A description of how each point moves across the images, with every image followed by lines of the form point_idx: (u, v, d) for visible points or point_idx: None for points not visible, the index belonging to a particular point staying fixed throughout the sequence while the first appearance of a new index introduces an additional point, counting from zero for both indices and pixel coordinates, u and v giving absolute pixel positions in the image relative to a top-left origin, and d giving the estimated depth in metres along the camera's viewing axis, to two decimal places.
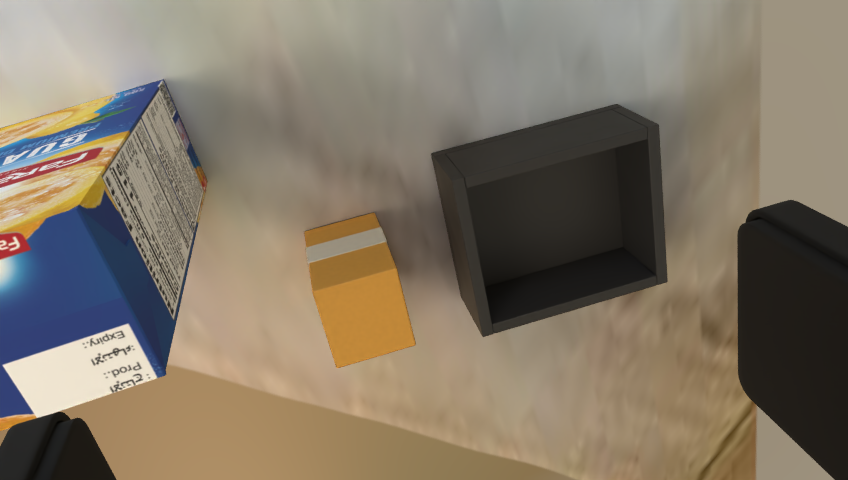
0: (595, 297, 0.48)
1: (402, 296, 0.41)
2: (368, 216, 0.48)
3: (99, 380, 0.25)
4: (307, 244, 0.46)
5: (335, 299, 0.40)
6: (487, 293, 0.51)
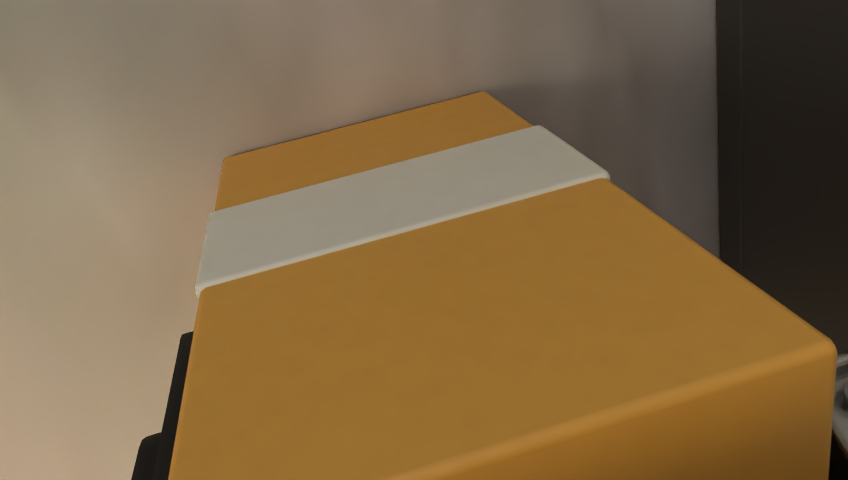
0: None
1: None
2: (470, 101, 0.12)
3: None
4: (220, 201, 0.10)
5: None
6: None
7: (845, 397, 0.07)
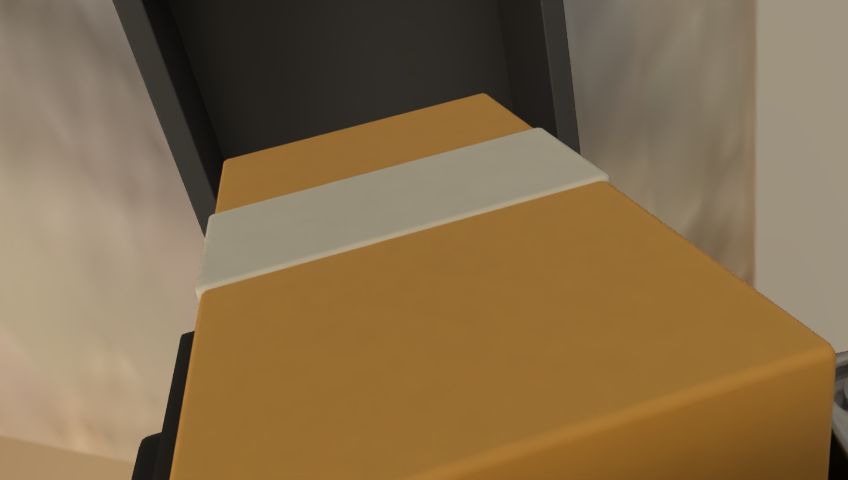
0: None
1: None
2: (469, 103, 0.12)
3: None
4: (221, 203, 0.10)
5: None
6: None
7: (845, 397, 0.07)
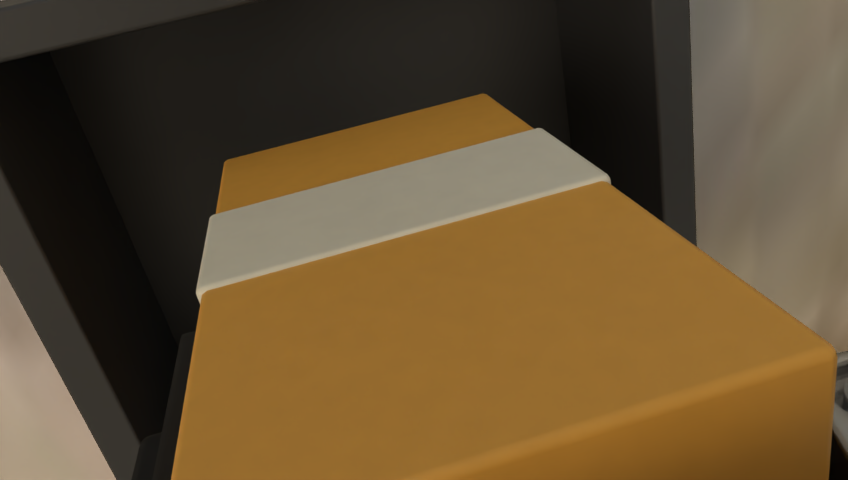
0: None
1: None
2: (470, 104, 0.13)
3: None
4: (221, 203, 0.10)
5: None
6: None
7: (845, 397, 0.07)
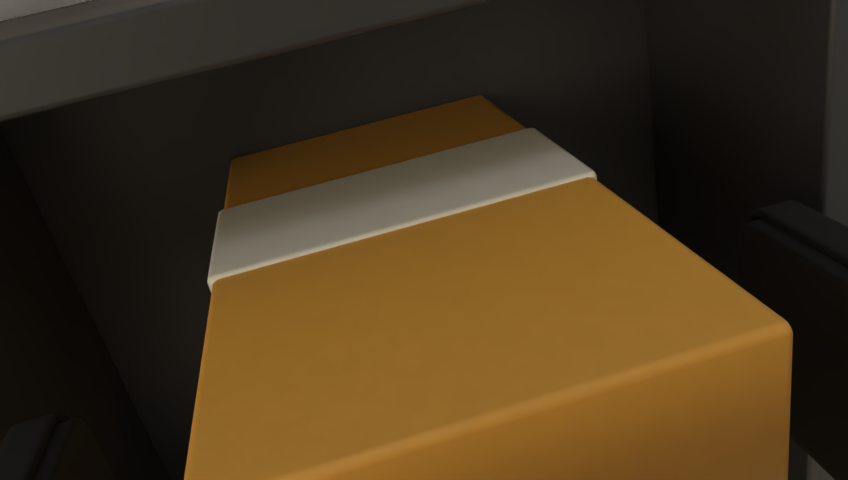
0: None
1: None
2: (466, 105, 0.13)
3: None
4: (229, 199, 0.11)
5: None
6: None
7: None
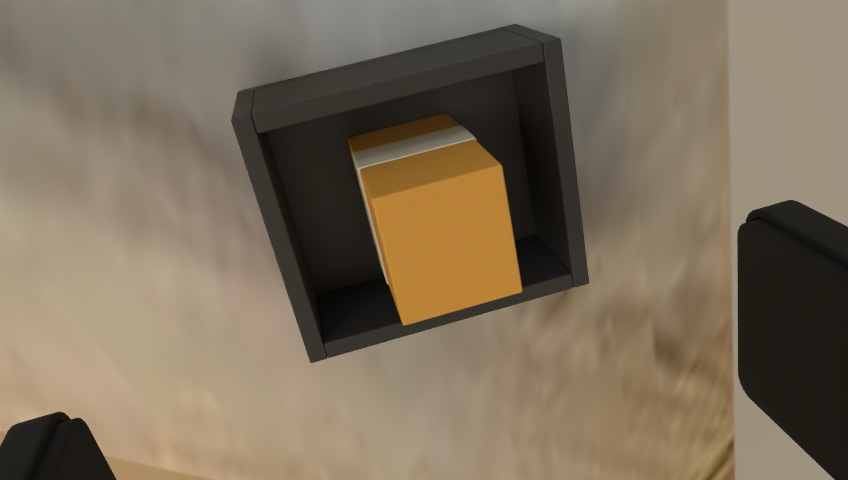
0: (480, 305, 0.32)
1: (508, 212, 0.26)
2: (440, 117, 0.33)
3: None
4: (354, 150, 0.31)
5: (405, 213, 0.26)
6: (334, 299, 0.35)
7: None
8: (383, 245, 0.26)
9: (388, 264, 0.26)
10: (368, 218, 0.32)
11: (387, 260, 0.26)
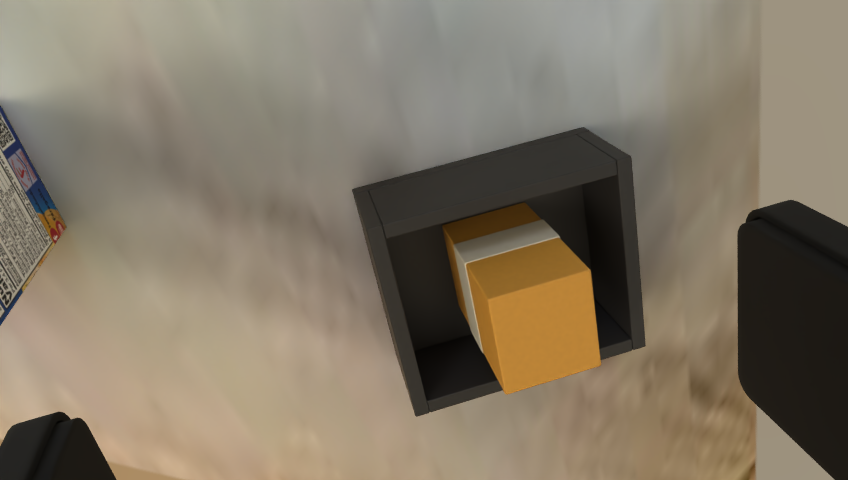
0: None
1: (593, 305, 0.33)
2: (520, 207, 0.39)
3: None
4: (453, 240, 0.37)
5: (513, 309, 0.32)
6: (427, 357, 0.41)
7: None
8: (494, 334, 0.32)
9: (497, 348, 0.32)
10: (463, 295, 0.38)
11: (496, 345, 0.32)
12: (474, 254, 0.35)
